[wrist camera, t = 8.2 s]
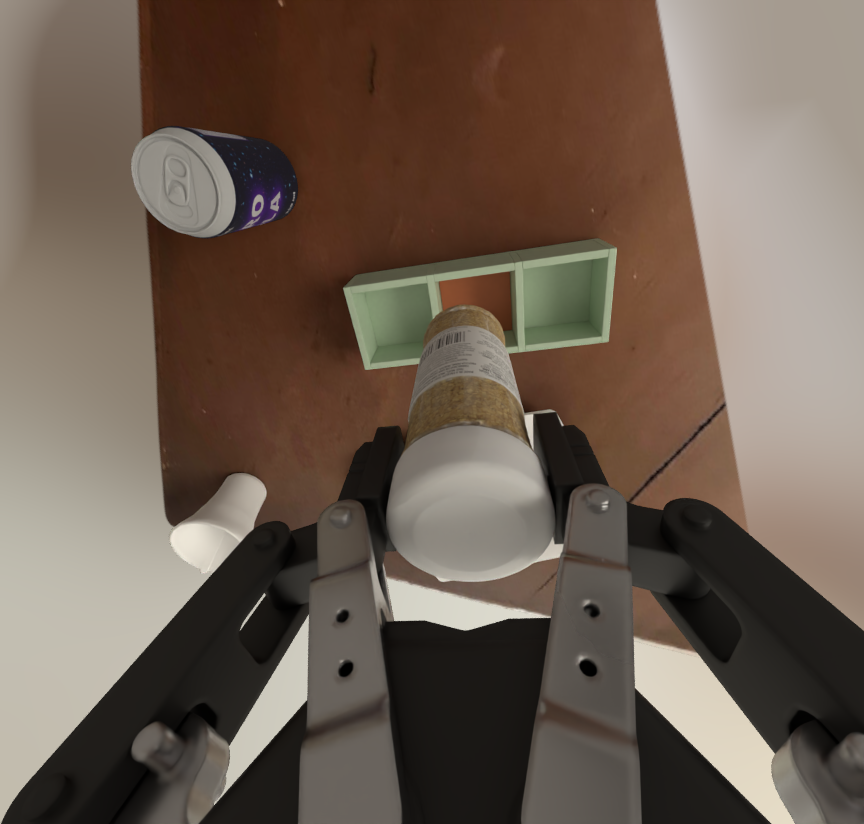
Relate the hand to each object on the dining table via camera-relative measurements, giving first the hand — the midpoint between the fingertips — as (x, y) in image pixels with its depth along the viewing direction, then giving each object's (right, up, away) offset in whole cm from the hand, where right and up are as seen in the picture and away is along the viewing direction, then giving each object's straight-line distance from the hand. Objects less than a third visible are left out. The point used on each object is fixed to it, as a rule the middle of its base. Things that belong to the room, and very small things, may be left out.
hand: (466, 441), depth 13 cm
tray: (+3, +11, +22) cm, 25 cm away
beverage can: (-15, +20, +18) cm, 31 cm away
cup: (-25, -9, +38) cm, 46 cm away
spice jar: (+1, +5, +8) cm, 10 cm away
